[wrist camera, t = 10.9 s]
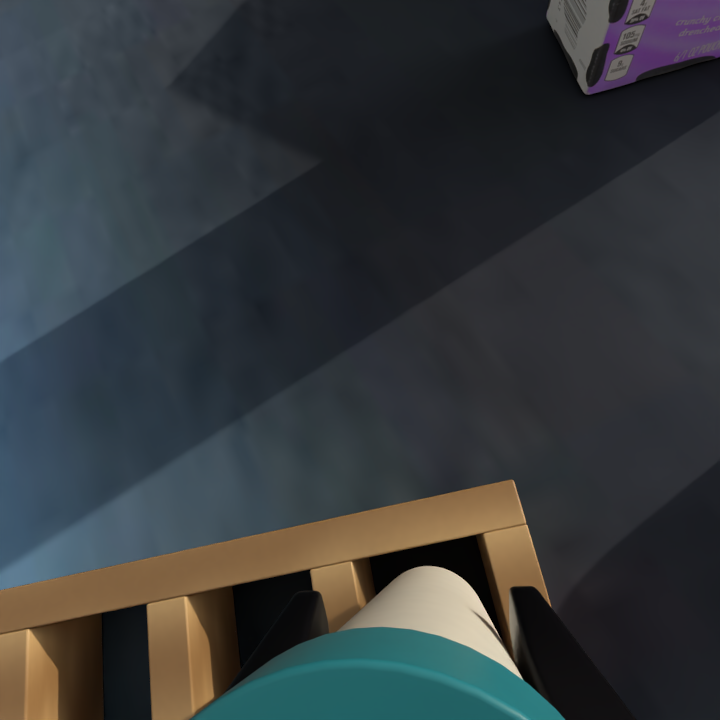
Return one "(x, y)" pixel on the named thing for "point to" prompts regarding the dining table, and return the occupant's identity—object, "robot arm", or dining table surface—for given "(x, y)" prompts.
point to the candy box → (633, 38)
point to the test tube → (394, 664)
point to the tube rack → (216, 603)
